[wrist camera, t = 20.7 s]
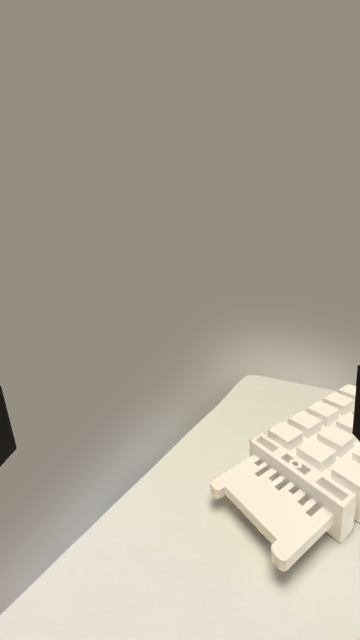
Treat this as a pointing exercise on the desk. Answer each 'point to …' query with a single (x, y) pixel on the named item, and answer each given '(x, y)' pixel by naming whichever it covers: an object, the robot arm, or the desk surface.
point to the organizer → (300, 478)
